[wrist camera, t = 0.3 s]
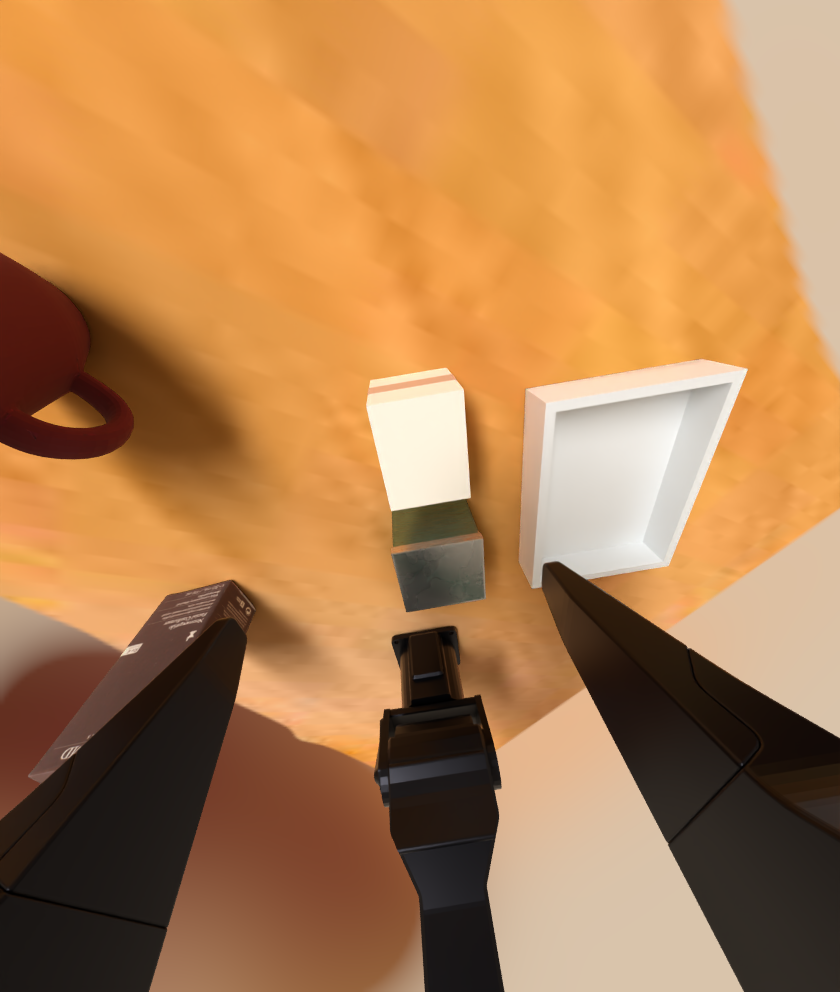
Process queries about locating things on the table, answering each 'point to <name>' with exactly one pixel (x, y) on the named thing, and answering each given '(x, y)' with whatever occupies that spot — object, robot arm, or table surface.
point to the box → (147, 661)
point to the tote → (618, 465)
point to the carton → (420, 437)
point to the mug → (49, 371)
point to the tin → (438, 555)
